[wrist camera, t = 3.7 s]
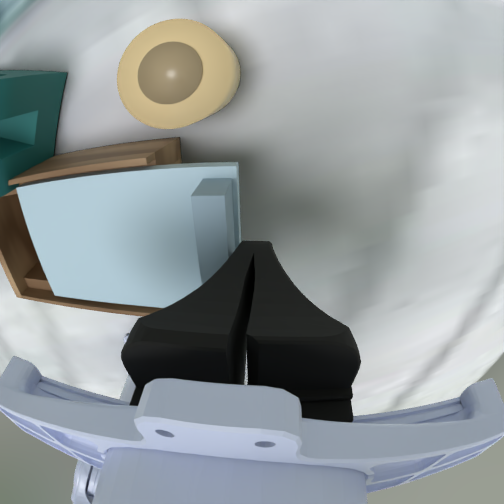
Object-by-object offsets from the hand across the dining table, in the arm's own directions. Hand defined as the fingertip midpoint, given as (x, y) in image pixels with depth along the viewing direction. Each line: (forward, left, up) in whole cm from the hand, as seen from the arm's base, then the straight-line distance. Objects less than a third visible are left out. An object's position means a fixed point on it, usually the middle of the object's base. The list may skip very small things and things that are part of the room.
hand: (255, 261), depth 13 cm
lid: (0, +7, -2) cm, 7 cm away
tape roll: (+8, +3, -6) cm, 10 cm away
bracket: (+10, +21, -6) cm, 24 cm away
